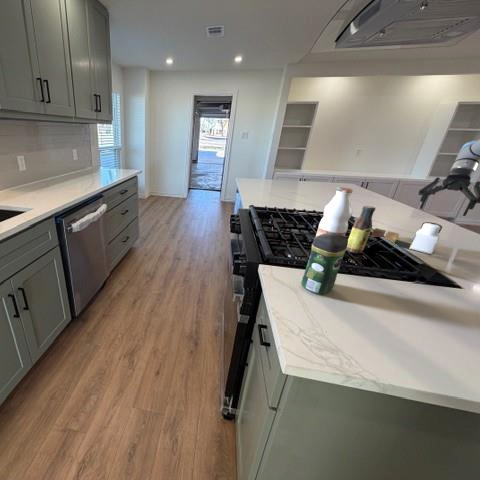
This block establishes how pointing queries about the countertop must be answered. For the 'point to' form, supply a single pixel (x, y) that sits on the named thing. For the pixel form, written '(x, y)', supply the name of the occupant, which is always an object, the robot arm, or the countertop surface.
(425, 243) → the medicine bottle
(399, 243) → the word mat
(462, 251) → the countertop surface
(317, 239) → the coffee jar
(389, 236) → the maple letter tile
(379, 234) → the walnut letter tile
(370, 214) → the sauce bottle
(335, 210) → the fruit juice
